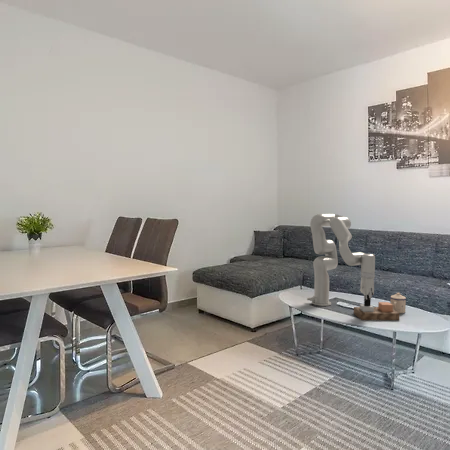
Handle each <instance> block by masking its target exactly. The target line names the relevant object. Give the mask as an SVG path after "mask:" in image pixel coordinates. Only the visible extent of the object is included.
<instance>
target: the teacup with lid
mask: <svg viewBox="0 0 450 450" xmlns="http://www.w3.org/2000/svg"><path fill="white" fill-rule="evenodd" d="M389 298H390V302H389V303H391V304H392V305H393V309H394V310H395V311H397V312H398V313H400V314H404V313H406V304H407V302H406V301H407V297H406V296H404V295H402V294H401V292H396V293H395V294H392V295H391V296H390V297H389Z"/></svg>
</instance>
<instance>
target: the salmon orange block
mask: <svg viewBox="0 0 450 450" xmlns="http://www.w3.org/2000/svg"><path fill="white" fill-rule="evenodd" d="M377 305H378V306H377V307H378V309H379V310H380V311H381V312H393V305H392V304H391V303H390V302H389V301H387V302H386V301H378V304H377Z"/></svg>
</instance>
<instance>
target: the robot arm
mask: <svg viewBox="0 0 450 450" xmlns="http://www.w3.org/2000/svg"><path fill="white" fill-rule="evenodd" d="M309 226H310V231H311V236H312V243H313V244H312V245H313V251H314V253H315V254H316V255H321V256H317V257H316V258H315V259H314V260H313V262H312V266H313V271H314V273H313V274H314V286H313V288H314V289H313V290H314V291H313V294H314V295H313V296H312V297H309V296H308V297H306V300H307V301H310V302H311V304H313V305H315V306H320V307H328V306H331V305H332V302H331V301H330V276H329V275H330V274H329V273H328V272H329V271H331V270H332V271H333V270H335V269H336V268H337V267H338V262H339V261H338V252H337V245H336V243H335V242H334V240H332V239H326V232H325V230H324V228H325V227H330V228H331V230H332V232H333V234H334V236H335V237H336V239H337V240H338V242H339V243H338V250H339V254H340V256H341V258H342V260H343V261H344V263H345V264H346V265H347V266H350V267H351V266H353V267H354V266H360V267H361V269H360V286H359V287H360V289H359V291H360V293H361V294H363V304H364V305H365V306H370V305H371V301H372V298H373V295H374V294H375V281H374V279H375V277H376V275H375V274H376V273H375V272H376V256H375V255H374V254H373V253H372V254H371V253H365V252H362V251H361V252H360V251H358V252H352V251H351V249H350V247H349V241H351V239H352V238H353V235H352V233H351V231H350V230H349V229H350V228H351V226H352V222H351V220H350V218H348V217H347V216H343V215H339V214H335V213H316V214H315V215H313V216H312V217H311V219H310V222H309ZM323 227H324V228H323ZM322 255H324V256H322Z"/></svg>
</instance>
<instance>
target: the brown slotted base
mask: <svg viewBox="0 0 450 450" xmlns="http://www.w3.org/2000/svg"><path fill="white" fill-rule="evenodd" d="M373 307H374V312H363V311H361V310H360V306H353V315H355V316H356V317H357V318H358V319H359V320H360V321H400V314H401V313H398V312H397V311H395V310H394V309H393V312H381V311H380V310H379V309H378V306H373Z"/></svg>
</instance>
